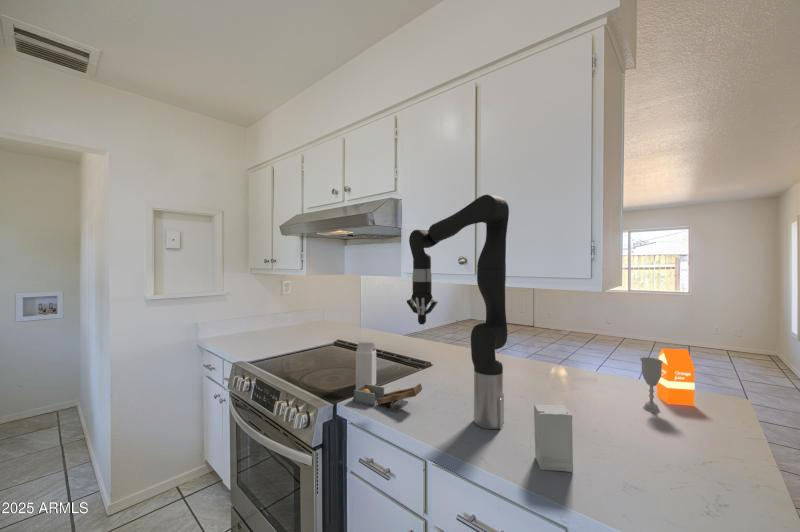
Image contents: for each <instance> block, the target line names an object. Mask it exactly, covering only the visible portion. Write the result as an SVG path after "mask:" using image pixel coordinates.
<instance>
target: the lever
mask: <svg viewBox="0 0 800 532" xmlns="http://www.w3.org/2000/svg"><path fill="white" fill-rule="evenodd" d="M422 390H423V386H422V383H418V384H417V385H416V386H414V387H409V388H403V389H397V390H392V391H390V392H388V393H384V397H383V398H380V399H377V403H378V404H377V405H382V404H386V403H387V404H388V403H392V402H393V401H396V400H401V399H403V400H406V399H410V398H414V397H416V396H417V395H418V394H419V393H421V392H422Z"/></svg>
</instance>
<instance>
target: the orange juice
mask: <svg viewBox="0 0 800 532" xmlns="http://www.w3.org/2000/svg"><path fill="white" fill-rule="evenodd" d="M657 359H660V360H662V361H663V363H662V376H661V378H660V380H659V382H658V383H657V385H656V397H658V398H659V399H660V400H662V401H663V402H665V403H666V404H668V405H680V406H691V407H692V406H695V366H694V363H693V361H692V358H691V355H690V352H689V350H688V349H681V348H679V349H678V348H676V349H675V348H662V349H661V351H660V353H659V355H658V358H657Z"/></svg>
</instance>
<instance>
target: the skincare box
mask: <svg viewBox="0 0 800 532" xmlns="http://www.w3.org/2000/svg"><path fill="white" fill-rule="evenodd" d="M533 414H534V415H533V416H534V417H533V418H534V419H533V420H534V421H533V422H534V423H533V424H534V457H535V459H536V462H537V464H538V465H537V466H538V467H539V469H540V471H541V470H543V471H557V472H569V473H570V472H571V473H573V472H574V452H573V451H574V448H573V447H574V446H573V443H574V442H573V441H574V440H573V415H572V414H571V412H570V410H569V409H567V407H566V406H565V405H560V404H559V405H549V404H533Z"/></svg>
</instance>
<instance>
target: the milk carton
mask: <svg viewBox="0 0 800 532" xmlns="http://www.w3.org/2000/svg"><path fill="white" fill-rule="evenodd" d="M363 384H370V385H375V386H377V348H376V347H375V342H366V341H358V343H357V348H356V352H355V389H356V388H358V387H360V386H361V385H363Z"/></svg>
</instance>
